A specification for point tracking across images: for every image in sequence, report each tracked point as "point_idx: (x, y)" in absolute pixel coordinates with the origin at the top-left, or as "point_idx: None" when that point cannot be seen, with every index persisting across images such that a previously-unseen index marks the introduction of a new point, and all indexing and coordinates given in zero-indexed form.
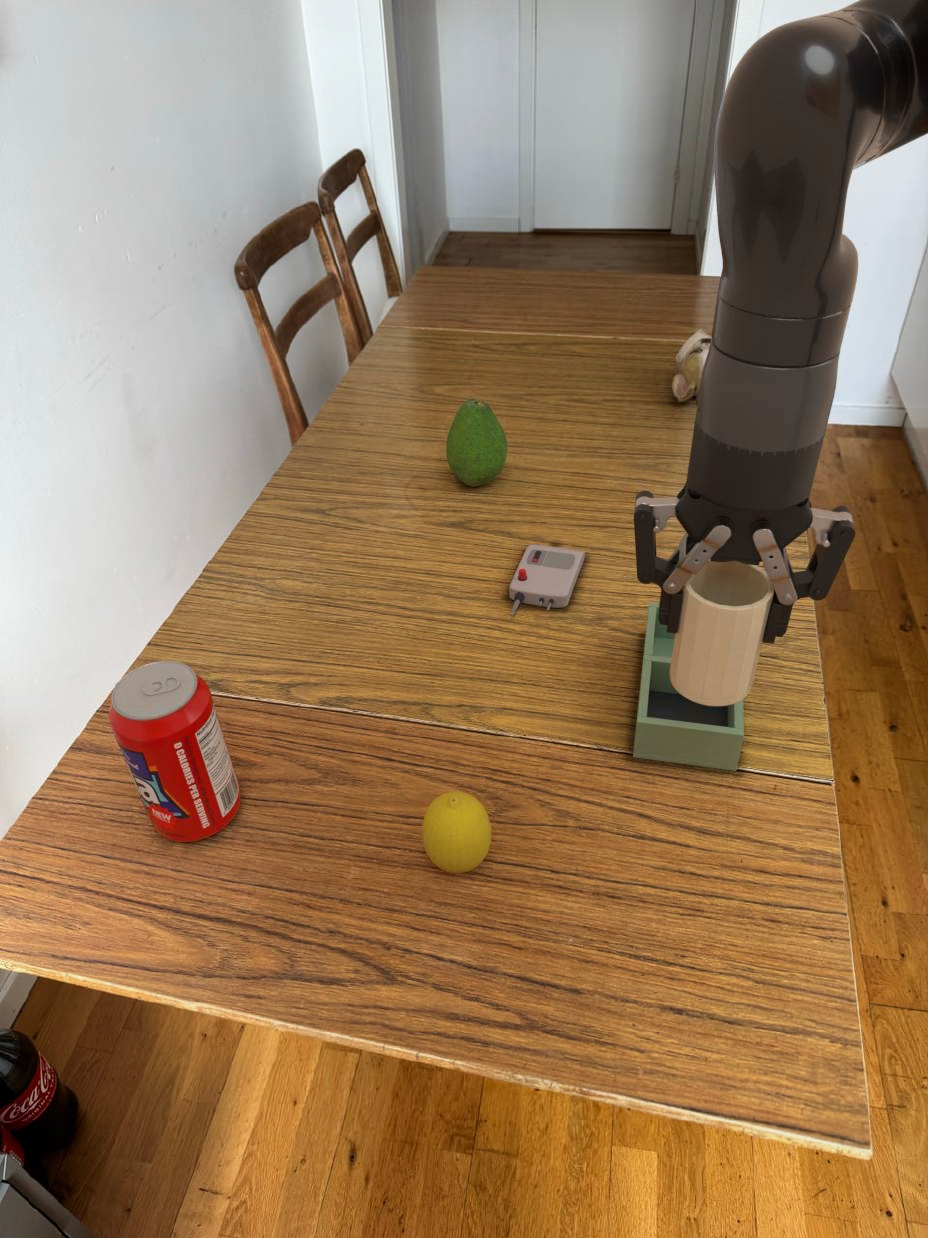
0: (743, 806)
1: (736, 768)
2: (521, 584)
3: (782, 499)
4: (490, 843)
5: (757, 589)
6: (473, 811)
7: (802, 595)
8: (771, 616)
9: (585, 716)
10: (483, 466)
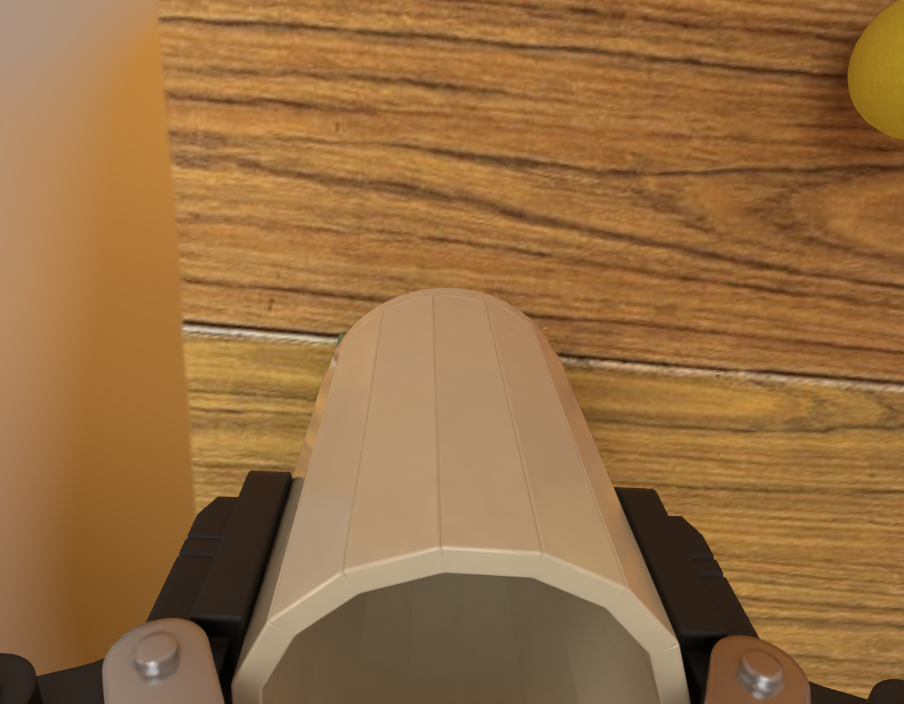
0: (328, 254)
1: (339, 336)
2: None
3: None
4: (862, 56)
5: (310, 701)
6: None
7: (81, 679)
8: (252, 562)
9: (603, 428)
10: None
